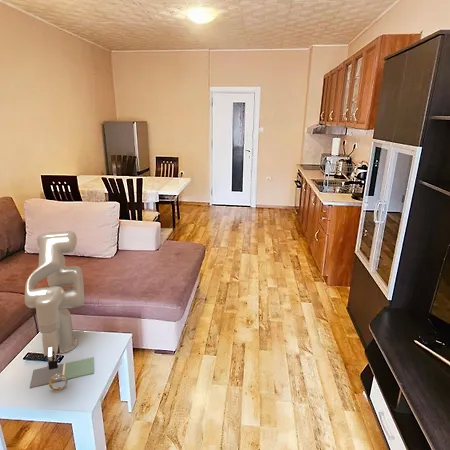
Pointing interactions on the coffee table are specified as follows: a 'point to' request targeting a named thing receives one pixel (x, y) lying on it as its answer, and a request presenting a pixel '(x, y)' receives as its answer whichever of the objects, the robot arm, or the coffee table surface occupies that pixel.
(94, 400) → the coffee table surface
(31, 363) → the coffee table surface
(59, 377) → the ring
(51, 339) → the robot arm
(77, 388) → the coffee table surface
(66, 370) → the board
